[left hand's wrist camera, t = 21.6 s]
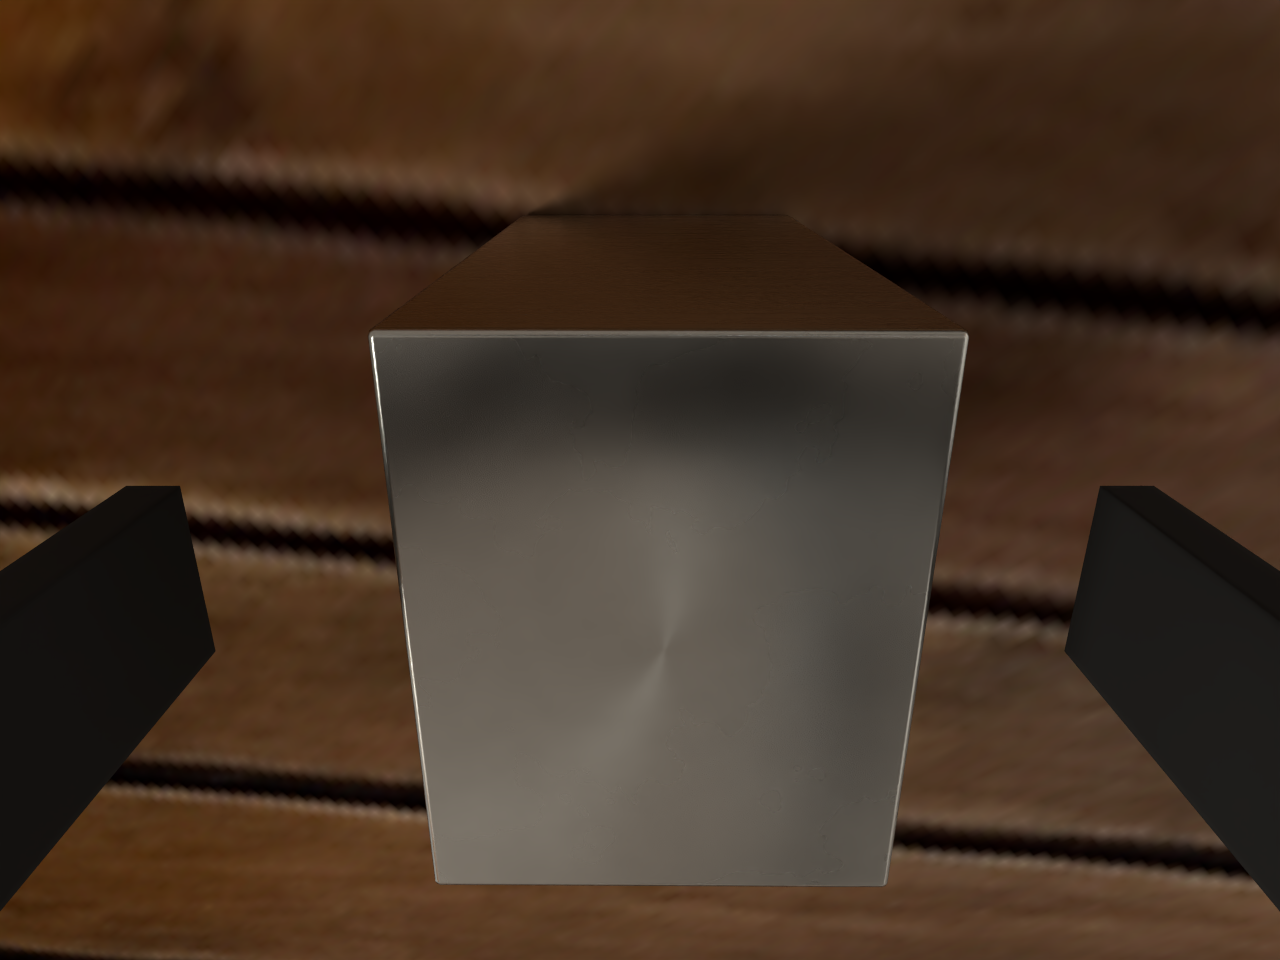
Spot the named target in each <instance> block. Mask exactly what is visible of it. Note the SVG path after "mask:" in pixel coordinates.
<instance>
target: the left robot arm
mask: <svg viewBox="0 0 1280 960" xmlns="http://www.w3.org/2000/svg"><path fill="white" fill-rule="evenodd" d="M214 652H215V647H214V642H213V637H212V633H211V628H210V623H209V619H208V614H207V609H206V605H205V600H204V595H203V591H202V586H201V582H200V577H199V572H198V568H197V563H196V558H195V554H194V549H193V544H192V540H191V535H190V531H189V526H188V521H187V517H186V512H185V507H184V503H183V498H182V493H181V489H180V486H125V487H124V488H122V489H121V490H119V491H118V492H117V493H115V494H114V495H112V496H111V497H109V498H108V499H106V500H105V501H103V502H102V503H100V504H99V505H97V506H96V507H94V508H93V509H91V510H90V511H88V512H87V513H85V514H84V515H83V516H81V517H80V518H78V519H77V520H75V521H74V522H72V523H71V524H69V525H68V526H66V527H65V528H63V529H62V530H60V531H59V532H57V533H56V534H54V535H53V536H52V537H50V538H49V539H47V540H46V541H44V542H43V543H41V544H40V545H38V546H37V547H35V548H34V549H32V550H31V551H29V552H28V553H26V554H25V555H23V556H22V557H20V558H19V559H18V560H16V561H15V562H13V563H12V564H10V565H9V566H7V567H6V568H4V569H3V570H1V571H0V911H1V910H2V908H3V907H4V906H5V905H6V904H7V902H8V901H9V900H10V899H11V898H12V896H13V895H14V894H15V893H16V892H17V890H18V889H19V888H20V887H21V885H22V884H23V883H24V882H25V881H26V879H27V878H28V877H29V876H30V875H31V873H32V872H33V871H34V870H35V869H36V867H37V866H38V865H39V864H40V863H41V861H42V860H43V859H44V858H45V856H46V855H47V854H48V853H49V852H50V850H51V849H52V848H53V847H54V846H55V844H56V843H57V842H58V841H59V840H60V838H61V837H62V836H63V835H64V834H65V832H66V831H67V830H68V829H69V827H70V826H71V825H72V824H73V823H74V821H75V820H76V819H77V818H78V817H79V815H80V814H81V813H82V812H83V811H84V809H85V808H86V807H87V806H88V805H89V803H90V802H91V801H92V800H93V798H94V797H95V796H96V795H97V794H98V792H99V791H100V790H101V789H102V788H103V786H104V785H105V784H106V783H107V782H108V780H109V779H110V778H111V777H112V776H113V774H114V773H115V772H116V771H117V769H118V768H119V767H120V766H121V765H122V763H123V762H124V761H125V760H126V759H127V757H128V756H129V755H130V754H131V753H132V751H133V750H134V749H135V748H136V747H137V745H138V744H139V743H140V742H141V740H142V739H143V738H144V737H145V736H146V734H147V733H148V732H149V731H150V730H151V728H152V727H153V726H154V725H155V724H156V722H157V721H158V720H159V719H160V718H161V716H162V715H163V714H164V713H165V711H166V710H167V709H168V708H169V707H170V705H171V704H172V703H173V702H174V701H175V699H176V698H177V697H178V696H179V695H180V693H181V692H182V691H183V690H184V689H185V687H186V686H187V685H188V684H189V683H190V681H191V680H192V679H193V678H194V676H195V675H196V674H197V673H198V672H199V670H200V669H201V668H202V667H203V666H204V664H205V663H206V662H207V661H208V660H209V658H210V657H211V656H212V655H213V654H214ZM1065 652H1066V654H1067V655H1068V656H1069V657H1070V658H1071V660H1072V661H1073V662H1074V663H1075V664H1076V666H1077V667H1078V668H1079V669H1080V670H1081V672H1082V673H1083V674H1084V675H1085V676H1086V678H1087V679H1088V680H1089V681H1090V683H1091V684H1092V685H1093V686H1094V687H1095V689H1096V690H1097V691H1098V692H1099V693H1100V695H1101V696H1102V697H1103V698H1104V699H1105V701H1106V702H1107V703H1108V704H1109V705H1110V707H1111V708H1112V709H1113V710H1114V711H1115V713H1116V714H1117V715H1118V716H1119V718H1120V719H1121V720H1122V721H1123V722H1124V724H1125V725H1126V726H1127V727H1128V728H1129V730H1130V731H1131V732H1132V733H1133V734H1134V736H1135V737H1136V738H1137V739H1138V740H1139V742H1140V743H1141V744H1142V745H1143V747H1144V748H1145V749H1146V750H1147V751H1148V753H1149V754H1150V755H1151V756H1152V757H1153V759H1154V760H1155V761H1156V762H1157V763H1158V765H1159V766H1160V767H1161V768H1162V769H1163V771H1164V772H1165V773H1166V774H1167V776H1168V777H1169V778H1170V779H1171V780H1172V782H1173V783H1174V784H1175V785H1176V786H1177V788H1178V789H1179V790H1180V791H1181V792H1182V794H1183V795H1184V796H1185V797H1186V798H1187V800H1188V801H1189V802H1190V803H1191V805H1192V806H1193V807H1194V808H1195V809H1196V811H1197V812H1198V813H1199V814H1200V815H1201V817H1202V818H1203V819H1204V820H1205V821H1206V823H1207V824H1208V825H1209V826H1210V827H1211V829H1212V830H1213V831H1214V832H1215V834H1216V835H1217V836H1218V837H1219V838H1220V840H1221V841H1222V842H1223V843H1224V844H1225V846H1226V847H1227V848H1228V849H1229V850H1230V852H1231V853H1232V854H1233V855H1234V856H1235V858H1236V859H1237V860H1238V861H1239V863H1240V864H1241V865H1242V866H1243V867H1244V869H1245V870H1246V871H1247V872H1248V873H1249V875H1250V876H1251V877H1252V878H1253V879H1254V881H1255V882H1256V883H1257V884H1258V885H1259V887H1260V888H1261V889H1262V890H1263V892H1264V893H1265V894H1266V895H1267V896H1268V898H1269V899H1270V900H1271V901H1272V902H1273V904H1274V905H1275V906H1276V907H1277V908H1278V910H1279V911H1280V571H1279V570H1277V569H1276V568H1274V567H1273V566H1271V565H1270V564H1268V563H1267V562H1265V561H1264V560H1262V559H1261V558H1260V557H1258V556H1257V555H1255V554H1254V553H1252V552H1251V551H1249V550H1248V549H1246V548H1245V547H1243V546H1242V545H1240V544H1239V543H1237V542H1236V541H1234V540H1233V539H1231V538H1230V537H1228V536H1227V535H1226V534H1224V533H1223V532H1221V531H1220V530H1218V529H1217V528H1215V527H1214V526H1212V525H1211V524H1209V523H1208V522H1206V521H1205V520H1203V519H1202V518H1200V517H1199V516H1197V515H1196V514H1195V513H1193V512H1192V511H1190V510H1189V509H1187V508H1186V507H1184V506H1183V505H1181V504H1180V503H1178V502H1177V501H1175V500H1174V499H1172V498H1171V497H1169V496H1168V495H1166V494H1165V493H1163V492H1162V491H1161V490H1159V489H1158V488H1156V487H1155V486H1100V489H1099V493H1098V498H1097V503H1096V507H1095V512H1094V517H1093V521H1092V526H1091V531H1090V535H1089V540H1088V544H1087V549H1086V554H1085V558H1084V563H1083V568H1082V572H1081V577H1080V582H1079V586H1078V591H1077V595H1076V600H1075V605H1074V609H1073V614H1072V619H1071V623H1070V628H1069V633H1068V637H1067V642H1066V647H1065Z"/></svg>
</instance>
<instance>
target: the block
mask: <svg viewBox="0 0 1280 960" xmlns="http://www.w3.org/2000/svg"><path fill="white" fill-rule="evenodd" d="M368 340H369V348H370V357H371V365H372V373H373V381H374V389H375V397H376V405H377V413H378V421H379V429H380V437H381V445H382V454H383V462H384V470H385V478H386V486H387V494H388V502H389V510H390V518H391V526H392V534H393V542H394V551H395V559H396V567H397V575H398V583H399V591H400V599H401V607H402V615H403V623H404V631H405V639H406V648H407V656H408V664H409V672H410V680H411V688H412V696H413V704H414V712H415V720H416V728H417V736H418V745H419V753H420V761H421V769H422V777H423V785H424V793H425V801H426V809H427V817H428V825H429V833H430V842H431V850H432V858H433V866H434V874H435V880H436V882H437V883H438V884H441V885H613V886H800V887H883V886H886V884H887V881H888V875H889V868H890V862H891V855H892V848H893V842H894V835H895V828H896V821H897V815H898V808H899V801H900V795H901V788H902V781H903V775H904V768H905V761H906V755H907V748H908V741H909V735H910V728H911V721H912V715H913V708H914V701H915V695H916V688H917V681H918V674H919V668H920V661H921V654H922V648H923V641H924V634H925V628H926V621H927V614H928V608H929V601H930V594H931V588H932V581H933V574H934V568H935V561H936V554H937V547H938V541H939V534H940V527H941V521H942V514H943V507H944V501H945V494H946V487H947V481H948V474H949V467H950V461H951V454H952V447H953V441H954V434H955V427H956V421H957V414H958V407H959V400H960V394H961V387H962V380H963V374H964V367H965V360H966V354H967V347H968V340H969V335H968V331H967V330H965V329H964V328H962V327H961V326H959V325H958V324H956V323H955V322H953V321H951V320H950V319H948V318H947V317H945V316H944V315H942V314H941V313H939V312H937V311H936V310H934V309H933V308H931V307H930V306H928V305H927V304H925V303H923V302H922V301H920V300H919V299H917V298H916V297H914V296H913V295H911V294H909V293H908V292H906V291H905V290H903V289H902V288H900V287H899V286H897V285H896V284H894V283H892V282H891V281H889V280H888V279H886V278H885V277H883V276H882V275H880V274H878V273H877V272H875V271H874V270H872V269H871V268H869V267H868V266H866V265H864V264H863V263H861V262H860V261H858V260H857V259H855V258H854V257H852V256H850V255H849V254H847V253H846V252H844V251H843V250H841V249H840V248H838V247H836V246H835V245H833V244H832V243H830V242H829V241H827V240H826V239H824V238H823V237H821V236H819V235H818V234H816V233H815V232H813V231H812V230H810V229H809V228H807V227H805V226H804V225H802V224H801V223H799V222H798V221H796V220H795V219H793V218H791V217H790V216H788V215H524V216H522V217H521V218H519V219H518V220H516V221H515V222H514V223H512V224H511V225H510V226H508V227H507V228H506V229H504V230H503V231H502V232H500V233H499V234H498V235H496V236H495V237H494V238H492V239H491V240H490V241H488V242H487V243H486V244H484V245H483V246H482V247H480V248H479V249H478V250H476V251H475V252H474V253H472V254H471V255H470V256H468V257H467V258H466V259H464V260H463V261H461V262H460V263H459V264H457V265H456V266H455V267H453V268H452V269H451V270H449V271H448V272H447V273H445V274H444V275H443V276H441V277H440V278H439V279H437V280H436V281H435V282H433V283H432V284H431V285H429V286H428V287H427V288H425V289H424V290H423V291H421V292H420V293H419V294H417V295H416V296H415V297H413V298H412V299H411V300H409V301H408V302H406V303H405V304H404V305H402V306H401V307H400V308H398V309H397V310H396V311H394V312H393V313H392V314H390V315H389V316H388V317H386V318H385V319H384V320H382V321H381V322H380V323H378V324H377V325H376V326H374V327H373V328H372V329H370V331H369V334H368Z"/></svg>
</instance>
